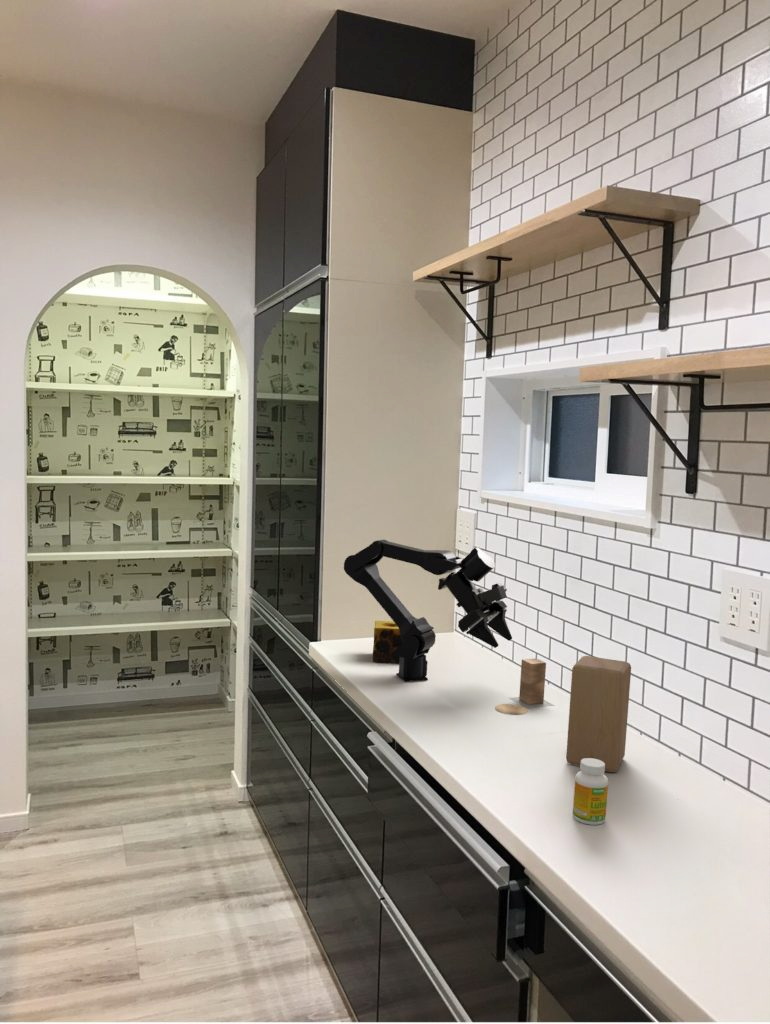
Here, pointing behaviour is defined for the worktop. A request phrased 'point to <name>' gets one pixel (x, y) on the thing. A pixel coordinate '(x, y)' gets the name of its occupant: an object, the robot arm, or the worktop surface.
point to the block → (598, 711)
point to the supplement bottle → (590, 792)
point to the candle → (386, 642)
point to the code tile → (545, 703)
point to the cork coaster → (511, 709)
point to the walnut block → (532, 681)
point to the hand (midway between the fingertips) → (504, 643)
